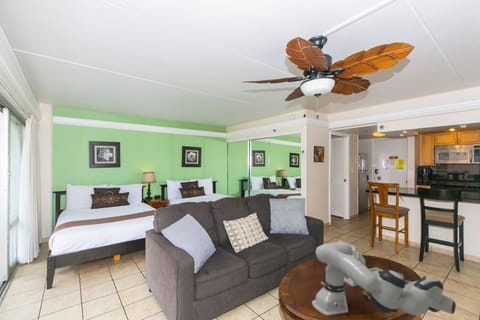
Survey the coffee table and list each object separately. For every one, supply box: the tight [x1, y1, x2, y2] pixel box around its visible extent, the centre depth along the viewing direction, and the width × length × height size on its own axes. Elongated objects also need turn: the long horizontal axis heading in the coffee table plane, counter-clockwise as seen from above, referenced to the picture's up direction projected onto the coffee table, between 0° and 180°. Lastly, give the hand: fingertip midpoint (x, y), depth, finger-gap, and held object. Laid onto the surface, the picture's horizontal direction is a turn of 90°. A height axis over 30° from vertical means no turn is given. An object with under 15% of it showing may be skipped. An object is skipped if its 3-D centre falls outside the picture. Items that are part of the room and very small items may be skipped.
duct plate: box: [368, 267, 384, 275], centre depth 176 cm, size 14×14×4 cm
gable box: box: [338, 239, 367, 288], centre depth 174 cm, size 22×13×28 cm, turn 21°
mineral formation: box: [361, 290, 372, 301], centre depth 147 cm, size 8×13×15 cm
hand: (400, 282), depth 154 cm, fingers open, 8 cm apart
